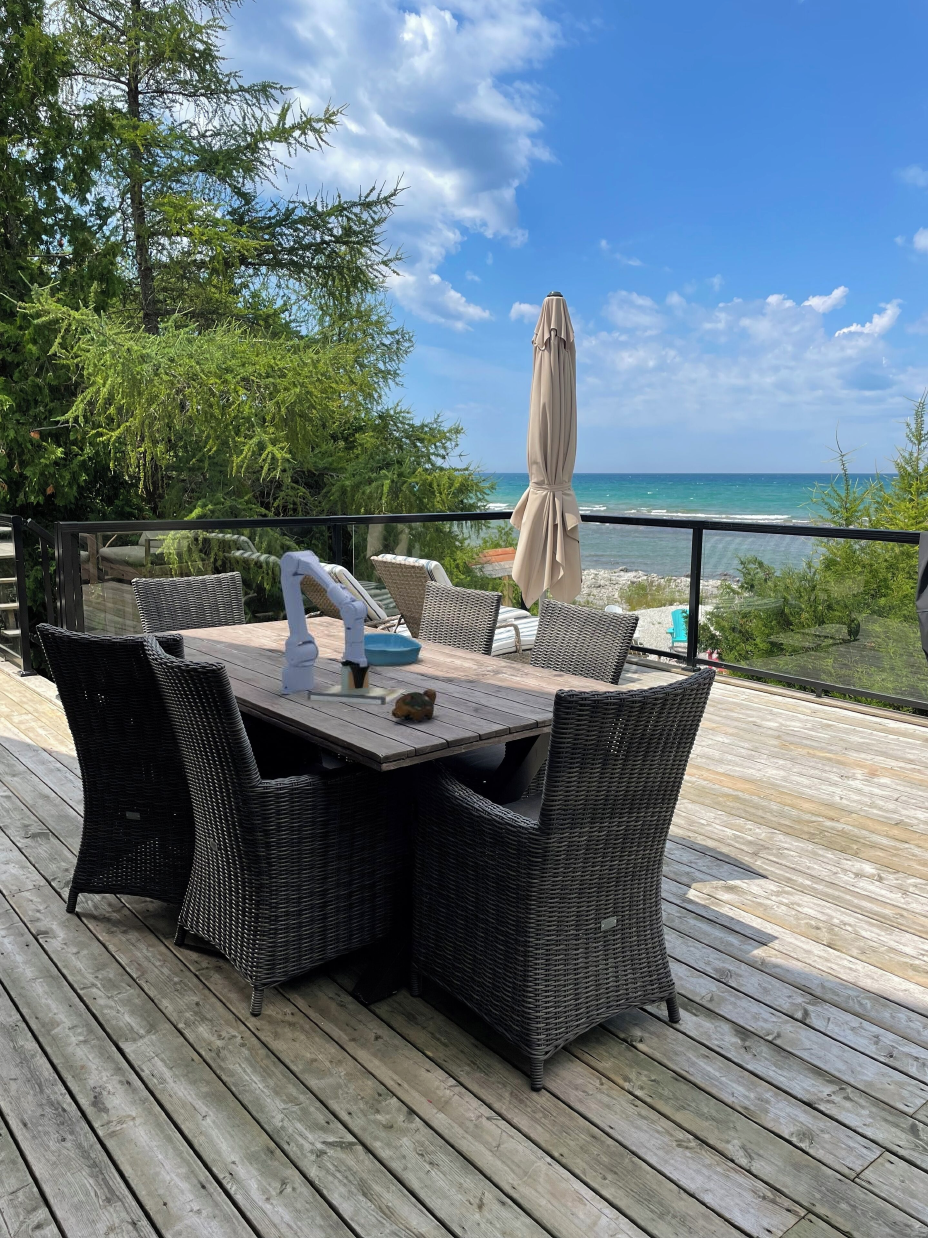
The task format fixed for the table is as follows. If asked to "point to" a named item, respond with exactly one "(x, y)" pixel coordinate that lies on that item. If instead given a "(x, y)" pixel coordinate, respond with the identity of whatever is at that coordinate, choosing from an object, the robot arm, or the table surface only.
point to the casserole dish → (390, 649)
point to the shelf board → (370, 692)
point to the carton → (352, 682)
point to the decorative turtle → (415, 705)
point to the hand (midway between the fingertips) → (355, 686)
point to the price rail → (347, 698)
